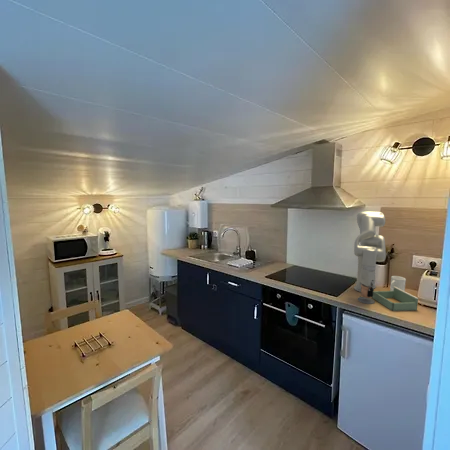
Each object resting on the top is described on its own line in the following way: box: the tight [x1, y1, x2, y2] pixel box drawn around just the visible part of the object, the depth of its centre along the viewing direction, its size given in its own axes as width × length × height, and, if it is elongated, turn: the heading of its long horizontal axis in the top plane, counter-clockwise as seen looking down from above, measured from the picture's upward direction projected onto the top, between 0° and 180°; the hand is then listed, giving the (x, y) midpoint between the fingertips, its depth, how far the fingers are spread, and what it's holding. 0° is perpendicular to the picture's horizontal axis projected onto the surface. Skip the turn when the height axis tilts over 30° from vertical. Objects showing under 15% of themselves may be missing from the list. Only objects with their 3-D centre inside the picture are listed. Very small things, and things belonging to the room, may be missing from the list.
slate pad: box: [357, 296, 376, 305], centre depth 172 cm, size 10×10×1 cm
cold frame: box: [371, 287, 419, 312], centre depth 168 cm, size 20×16×8 cm
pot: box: [360, 284, 373, 299], centre depth 171 cm, size 7×7×7 cm
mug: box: [389, 275, 407, 292], centre depth 186 cm, size 9×12×11 cm
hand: (366, 294), depth 171 cm, fingers closed on pot, 6 cm apart
